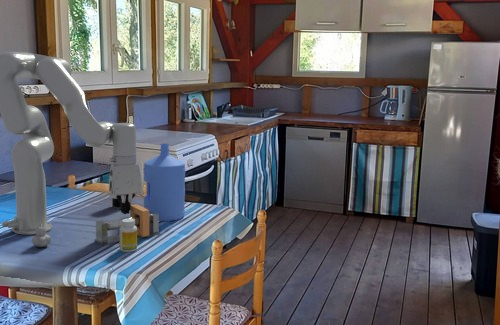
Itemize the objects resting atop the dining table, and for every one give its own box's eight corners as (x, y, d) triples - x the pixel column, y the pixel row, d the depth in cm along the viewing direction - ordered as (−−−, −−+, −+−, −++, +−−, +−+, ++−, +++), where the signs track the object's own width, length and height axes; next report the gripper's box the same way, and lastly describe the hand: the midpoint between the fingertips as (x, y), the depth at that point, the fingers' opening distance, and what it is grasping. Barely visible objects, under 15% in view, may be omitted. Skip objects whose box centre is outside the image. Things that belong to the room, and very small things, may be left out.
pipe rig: (102, 245, 168) (101, 224, 166) (94, 240, 172) (94, 219, 171) (160, 234, 181) (160, 214, 180) (151, 229, 185) (151, 210, 184)
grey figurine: (49, 242, 169) (48, 218, 167) (52, 249, 163) (51, 224, 162) (31, 244, 166) (30, 220, 165) (33, 251, 160) (32, 226, 159)
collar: (142, 236, 175) (142, 211, 173) (130, 229, 182) (130, 205, 180) (149, 235, 176) (149, 210, 175) (136, 228, 183) (136, 204, 182)
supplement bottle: (116, 249, 165) (116, 219, 163) (130, 245, 169) (130, 216, 167) (126, 253, 161) (125, 223, 160) (140, 249, 165) (140, 220, 164)
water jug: (190, 213, 207) (191, 143, 202) (174, 224, 193) (175, 148, 187) (154, 208, 211) (154, 140, 206) (136, 219, 197) (135, 145, 192)
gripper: (108, 164, 168) (109, 219, 172) (150, 159, 177) (150, 212, 181) (98, 160, 174) (99, 213, 177) (139, 156, 183) (140, 207, 187)
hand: (125, 212), depth 179 cm, fingers closed
